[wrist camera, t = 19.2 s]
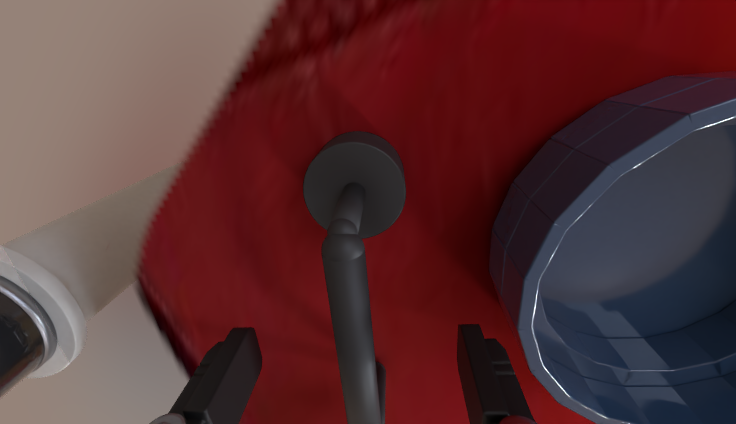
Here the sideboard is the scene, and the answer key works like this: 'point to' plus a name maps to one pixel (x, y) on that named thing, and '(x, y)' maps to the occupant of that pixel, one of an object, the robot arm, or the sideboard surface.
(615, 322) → the bowl
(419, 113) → the sideboard surface
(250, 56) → the sideboard surface
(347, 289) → the door handle
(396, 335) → the sideboard surface
